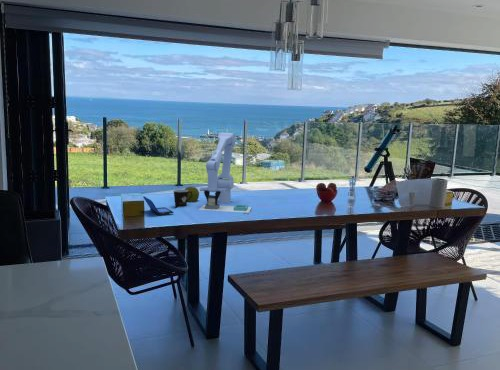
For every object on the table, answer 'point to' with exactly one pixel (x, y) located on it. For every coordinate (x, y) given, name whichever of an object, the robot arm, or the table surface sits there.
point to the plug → (211, 200)
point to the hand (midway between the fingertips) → (212, 203)
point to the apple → (194, 194)
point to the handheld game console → (155, 210)
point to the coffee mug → (181, 197)
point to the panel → (227, 208)
